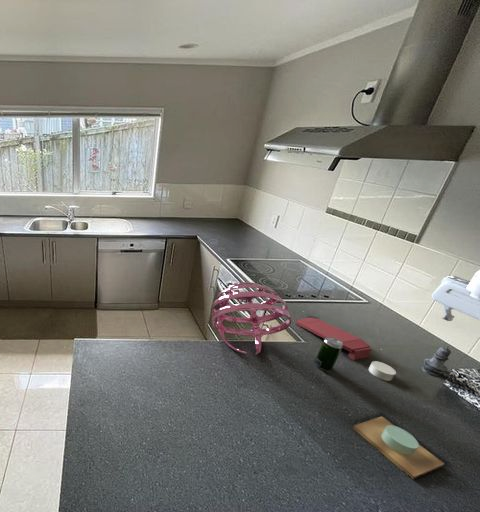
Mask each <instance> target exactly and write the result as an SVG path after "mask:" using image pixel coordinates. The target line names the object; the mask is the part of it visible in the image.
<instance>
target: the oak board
mask: <svg viewBox="0 0 480 512" xmlns="http://www.w3.org/2000/svg"><path fill="white" fill-rule="evenodd" d="M388 425H393V426H395V425H394V424H393V423H391V422H390V421H389V420H388V419H386V418H385V417H383V416H379V417H376V418H373V419H370V420H366V421H364V422H361V423H357V424H354V425H353V427H352V429H353V430H354V431H355V432H356V433H357V434H359V435H360V436H361V437H362V438H363V439H364V440H365V441H367V442H368V443H369V444H370V445H371V446H372V447H374V448H375V449H376V450H377V451H378V452H379V453H380V454H382V455H383V456H384V457H385V458H387V459H388V460H389V461H390V462H391V463H392V464H394V465H395V466H396V467H397V468H398V469H400V470H401V472H403V471H404V472H405V473H406V474H405V473H404V472H403V473H404V474H405V475H407V476H408V475H409V476H410V477H411V478H412V479H411V478H410V477H409V476H408V477H409V478H410V479H411V480H415V479H417V478H419V476H420V477H421V475H422V476H424V475H427V474H429V473H431V472H433V470H434V471H435V470H439V469H440V468H443V467H444V466H445V462H443V461H441V459H439V458H438V457H436V456H435V455H434V454H433V453H432V452H430V451H428V449H426V448H424V446H422V445H421V444H419V447H418V448H417V450H416V451H415V452H414V454H413V455H410V456H408V455H403V454H401V453H398V452H397V451H395V450H393V449H392V448H390V447H389V446H388V445H387V444H386V443H385V442H384V441H383V439H382V437H381V434H382V432H383V430H384V429H385V427H386V426H388ZM428 472H429V473H428ZM426 473H427V474H426ZM414 478H415V479H414Z"/></svg>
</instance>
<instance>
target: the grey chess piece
mask: <svg viewBox="0 0 480 512" xmlns="http://www.w3.org/2000/svg"><path fill="white" fill-rule="evenodd" d="M451 353H452V351H451V349H450V348H449V346H445V347H444V346H441V347H439V348H438V349H437V351H436V352H434V353H433V357H432V358H424V359H423V362H424V363H423V364H424V365H421V366H420V369H421V371H422V372H424V373H426V374H427V375H430V376H432V377H435V378H441V377H442V373H444V372H445V371H448V367H447V366H446V365H445V363H446V362H447V361H449V357H450V355H451Z"/></svg>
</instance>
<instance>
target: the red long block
mask: <svg viewBox="0 0 480 512" xmlns="http://www.w3.org/2000/svg"><path fill="white" fill-rule="evenodd" d="M295 325H297V326H298V327H301V328H303V329H304V330H307V331H309V332H311V333H312V334H315V335H316V336H317V337H320V338H323V340H324V339H326V337H333V338H336V339H338V340H340V341H341V342H342V343H343V345H342V346H343V347H342V349H344V350H346V351H347V352H348V356H347V357H348V358H349V359H351V360H352V361H357V360H361V359H366V358H370V355H371V351H372V347H371V346H370V344H369V343H367V342H366V341H365V340H363V338H361V337H358V336H357V335H353V334H352V333H350V332H348V331H345V330H343V329H341V328H339V327H337V326H335V325H333V324H331V323H328V322H325V321H323V320H321V319H319V318H316V317H306V318H299V319H297V320H296V321H295Z"/></svg>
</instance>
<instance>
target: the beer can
mask: <svg viewBox="0 0 480 512" xmlns="http://www.w3.org/2000/svg"><path fill="white" fill-rule="evenodd" d="M342 345H343V343H342V342H341V341H340V340H338V339H336V338H333V337H326V339H324V338H323V341H322V344H321V345H320V349H319V350H318V353H317V355H316V357H315V359H314V365H315V367H316V368H318V369H319V370H321V371H323V372H330V371H332V370H333V368H334V366H335V365H336V362H337V360H338V358H339V356H340V353H341V351H342V349H343V348H342V347H343V346H342Z"/></svg>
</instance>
